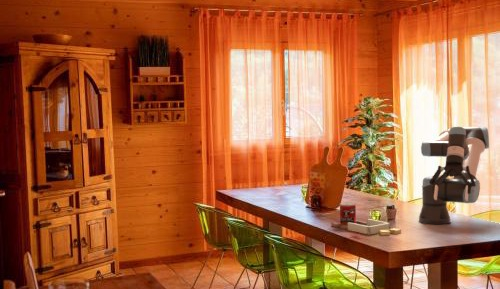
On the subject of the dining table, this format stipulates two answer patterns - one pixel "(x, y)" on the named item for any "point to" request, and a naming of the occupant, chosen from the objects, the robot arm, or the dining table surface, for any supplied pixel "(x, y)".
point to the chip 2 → (395, 231)
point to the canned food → (347, 213)
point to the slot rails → (347, 226)
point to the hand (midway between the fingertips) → (450, 199)
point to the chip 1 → (384, 232)
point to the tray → (369, 227)
